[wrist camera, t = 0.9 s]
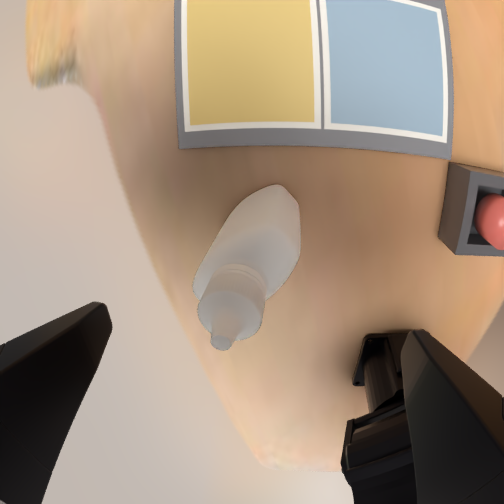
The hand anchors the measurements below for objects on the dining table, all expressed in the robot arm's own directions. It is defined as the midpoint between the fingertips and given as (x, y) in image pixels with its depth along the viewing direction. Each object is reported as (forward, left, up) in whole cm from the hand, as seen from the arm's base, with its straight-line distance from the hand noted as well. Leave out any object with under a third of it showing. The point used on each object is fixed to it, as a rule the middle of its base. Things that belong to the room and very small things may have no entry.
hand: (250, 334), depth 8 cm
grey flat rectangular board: (+10, -3, -13) cm, 16 cm away
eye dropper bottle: (-1, +1, -13) cm, 13 cm away
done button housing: (+1, -15, -13) cm, 20 cm away
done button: (+1, -15, -10) cm, 18 cm away
